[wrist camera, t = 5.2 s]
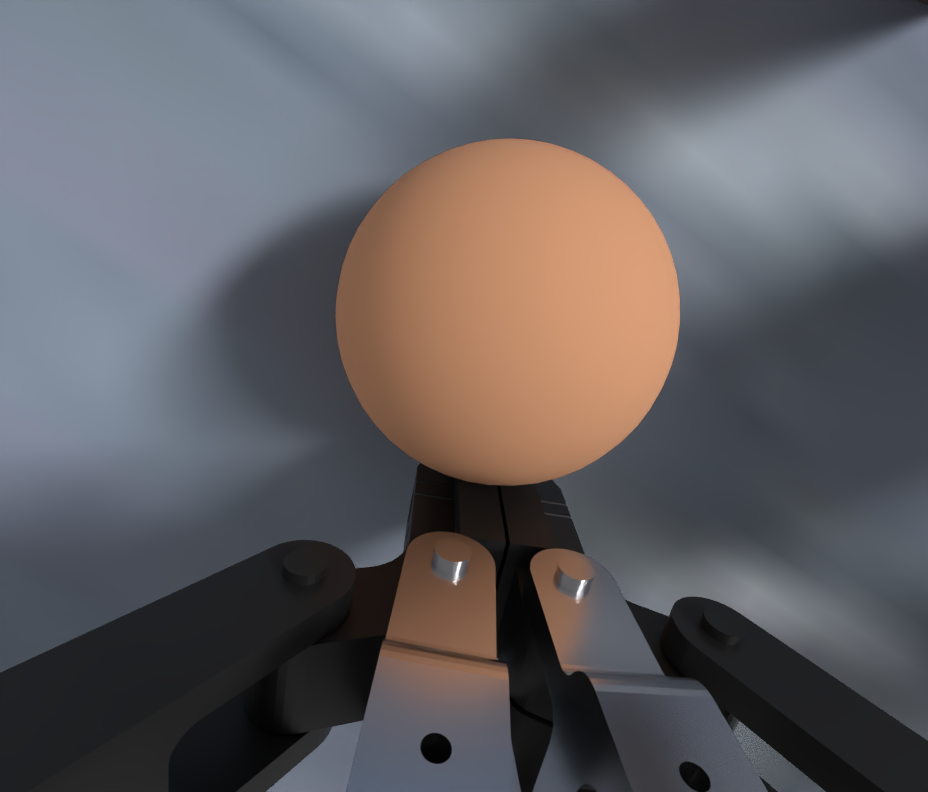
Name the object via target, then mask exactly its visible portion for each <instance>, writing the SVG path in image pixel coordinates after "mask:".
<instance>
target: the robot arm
mask: <svg viewBox="0 0 928 792" xmlns="http://www.w3.org/2000/svg"><path fill="white" fill-rule="evenodd" d="M497 658H498V659H499V660H497ZM361 720H363V724H362V728H361V732H360V736H359V740H358V744H357V749H356V753H355V757H354V761H353V765H352V769H351V773H350V777H349V781H348V785H347V790H346V792H777V791H776V790H775V789H774V788H772V787H771V786H770V785H769V784H768V783H767V782H766V781H764V780H763V779H762V778H761V777H760V776H759V775H758V774H757V772H756V770H755V769H754V767H753V765H752V764H751V762H750V760H749V759H748V757H747V755H746V753H745V752H744V750H743V748H742V747H741V745H740V743H739V742H738V740H737V738H736V737H735V735H734V733H733V731H734V729H735V727H736V725H737V724H738V722H739V721H740V722H742V723H743V724H744V725H745V726H747V727H748V728H749V729H750V730H751V731H753V732H754V733H755V734H756V735H758V736H759V737H760V738H761V739H762V740H764V741H765V742H766V743H767V744H769V745H770V746H771V747H772V748H774V749H775V750H776V751H777V752H778V753H780V754H781V755H782V756H783V757H785V758H786V759H787V760H788V761H789V762H791V763H792V764H793V765H794V766H796V767H797V768H798V769H799V770H800V771H802V772H803V773H804V774H805V775H807V776H808V777H809V778H810V779H811V780H813V781H814V782H815V783H816V784H818V785H819V786H820V787H821V788H823V789H824V790H825V791H826V792H928V741H927V740H926V739H924V738H923V737H921V736H920V735H918V734H917V733H915V732H914V731H912V730H911V729H909V728H908V727H906V726H905V725H903V724H902V723H901V722H899V721H898V720H896V719H895V718H893V717H892V716H890V715H889V714H887V713H886V712H884V711H883V710H881V709H880V708H878V707H877V706H875V705H874V704H872V703H871V702H870V701H868V700H867V699H865V698H864V697H862V696H861V695H859V694H858V693H856V692H855V691H853V690H852V689H850V688H849V687H847V686H846V685H844V684H843V683H842V682H840V681H839V680H837V679H836V678H834V677H833V676H831V675H830V674H828V673H827V672H825V671H824V670H822V669H821V668H819V667H818V666H816V665H815V664H814V663H812V662H811V661H809V660H808V659H806V658H805V657H803V656H802V655H800V654H799V653H797V652H796V651H794V650H793V649H791V648H790V647H788V646H787V645H786V644H784V643H783V642H781V641H780V640H778V639H777V638H775V637H774V636H772V635H771V634H769V633H768V632H766V631H765V630H763V629H762V628H760V627H759V626H758V625H756V624H755V623H753V622H752V621H750V620H749V619H747V618H746V617H744V616H743V615H741V614H740V613H738V612H737V611H735V610H733V609H732V608H730V607H728V606H726V605H724V604H721V603H719V602H717V601H713V600H710V599H707V598H702V597H685V598H682V599H679V600H678V601H677V602H675V604H674V606H673V608H672V610H671V612H670V615H669V617H668V616H666V615H663V614H660V613H658V612H655V611H652V610H649V609H647V608H644V607H641V606H639V605H636V604H634V603H631V602H629V601H627V600H625V599H624V597H623V595H622V593H621V591H620V589H619V587H618V585H617V583H616V581H615V580H614V578H613V577H612V575H611V574H610V573H609V572H608V570H607V569H605V568H604V567H603V566H602V565H601V564H599V563H598V562H597V561H595V560H593V559H592V558H590V557H588V556H586V555H585V554H584V551H583V549H582V546H581V543H580V540H579V538H578V535H577V532H576V530H575V527H574V524H573V521H572V519H570V513H569V511H568V508H567V506H566V502H565V500H564V497H563V494H562V492H561V489H560V488H559V487H558V486H557V485H556V484H555V483H554V482H553V481H552V480H548V481H544V482H540V483H535V484H525V485H516V486H507V485H486V484H479V483H473V482H467V481H464V480H460V479H457V478H454V477H450V476H447V475H445V474H442V473H440V472H438V471H436V470H433V469H431V468H429V467H427V466H425V465H423V464H422V463H421V464H420V465H419V466H418V467H417V473H416V478H415V483H414V489H413V494H412V500H411V505H410V510H409V516H408V521H407V527H406V534H405V543H404V551H403V554H401V555H400V556H399V557H398V558H396V559H394V560H393V561H391V562H388V563H386V564H383V565H379V566H374V567H367V568H356V569H355V566H354V564H353V562H352V560H351V559H350V557H349V556H348V555H347V554H346V553H344V552H343V551H342V550H340V549H339V548H337V547H335V546H332V545H330V544H327V543H324V542H319V541H311V540H297V541H290V542H286V543H282V544H279V545H277V546H274V547H272V548H270V549H267V550H265V551H263V552H261V553H259V554H257V555H254V556H252V557H250V558H248V559H246V560H244V561H241V562H239V563H237V564H235V565H233V566H231V567H228V568H226V569H224V570H222V571H220V572H218V573H215V574H213V575H211V576H209V577H207V578H205V579H203V580H200V581H198V582H196V583H194V584H192V585H190V586H187V587H185V588H183V589H181V590H179V591H177V592H174V593H172V594H170V595H168V596H166V597H164V598H161V599H159V600H157V601H155V602H153V603H151V604H148V605H146V606H144V607H142V608H140V609H138V610H135V611H133V612H131V613H129V614H127V615H125V616H122V617H120V618H118V619H116V620H114V621H112V622H109V623H107V624H105V625H103V626H101V627H99V628H96V629H94V630H92V631H90V632H88V633H86V634H83V635H81V636H79V637H77V638H75V639H73V640H70V641H68V642H66V643H64V644H62V645H60V646H57V647H55V648H53V649H51V650H49V651H47V652H44V653H42V654H40V655H38V656H36V657H34V658H31V659H29V660H27V661H25V662H23V663H21V664H18V665H16V666H14V667H12V668H10V669H8V670H5V671H3V672H1V673H0V792H266V791H267V790H268V789H269V788H270V787H272V786H273V785H274V784H275V783H276V782H277V781H278V780H280V779H281V778H282V777H283V776H284V775H285V774H287V773H288V772H289V771H290V770H291V769H292V768H294V767H295V766H296V765H297V764H298V763H299V762H301V761H302V760H303V759H304V758H305V757H306V756H307V755H309V754H310V753H311V752H312V751H313V750H314V749H316V748H317V747H318V746H319V745H320V744H321V743H322V742H323V741H324V740H325V738H326V737H327V735H328V734H329V732H330V730H331V728H332V727H333V726H337V725H342V724H347V723H352V722H357V721H361Z"/></svg>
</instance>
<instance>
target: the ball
mask: <svg viewBox="0 0 928 792" xmlns="http://www.w3.org/2000/svg"><path fill="white" fill-rule="evenodd" d="M335 319H336V331H337V341H338V345H339V350H340V355H341V359H342V363H343V366H344V368H345V371H346V374H347V377H348V379H349V382H350V384H351V386H352V388H353V390H354V392H355V394H356V396H357V398H358V400H359V402H360V404H361V405H362V407H363V408H364V410H365V411H366V413H367V414H368V415H369V417H370V418H371V420H372V421H373V422H374V424H375V425H376V426H377V427H378V428H379V429H380V430H381V431H382V432H383V433H384V435H385V436H386V437H387V438H388V439H389V440H390V441H391V442H393V443H394V444H395V445H396V446H397V447H399V448H400V449H401V450H402V451H404V452H405V453H406V454H407V455H409V456H410V457H412V458H414V459H415V460H417V461H419V462H420V463H422V464H423V465H425V466H427V467H429V468H431V469H433V470H436V471H438V472H440V473H442V474H445V475H447V476H450V477H454V478H457V479H460V480H464V481H467V482H473V483H479V484H486V485H507V486H516V485H525V484H535V483H540V482H544V481H548V480H552V479H556V478H560V477H562V476H565V475H567V474H570V473H572V472H575V471H577V470H580V469H581V468H583V467H585V466H587V465H589V464H590V463H592V462H594V461H596V460H597V459H599V458H601V457H602V456H603V455H605V454H606V453H607V452H609V451H610V450H611V449H613V448H614V447H615V446H617V445H618V444H619V443H621V442H622V441H623V440H624V439H625V438H626V437H627V436H628V435H629V434H630V433H631V432H632V431H633V430H634V429H635V428H636V427H637V426H638V424H639V423H640V422H641V420H642V419H643V418H644V416H645V415H646V414H647V412H648V411H649V410H650V408H651V407H652V405H653V403H654V401H655V400H656V398H657V396H658V394H659V393H660V391H661V389H662V387H663V385H664V383H665V380H666V378H667V375H668V373H669V370H670V368H671V366H672V362H673V358H674V355H675V351H676V347H677V342H678V334H679V326H680V295H679V287H678V280H677V274H676V270H675V266H674V262H673V259H672V255H671V252H670V250H669V247H668V245H667V243H666V240H665V238H664V235H663V233H662V232H661V230H660V228H659V226H658V225H657V223H656V221H655V219H654V217H653V216H652V215H651V213H650V212H649V210H648V209H647V208H646V206H645V205H644V204H643V202H642V201H641V200H640V199H639V198H638V197H637V195H636V194H635V193H634V192H633V191H632V190H631V189H630V188H629V187H628V186H627V185H626V184H625V183H624V182H622V181H621V180H620V179H619V178H618V177H616V176H615V175H614V174H613V173H612V172H610V171H609V170H607V169H606V168H604V167H603V166H601V165H599V164H598V163H596V162H595V161H593V160H592V159H589V158H587V157H585V156H583V155H581V154H579V153H577V152H575V151H572V150H569V149H566V148H563V147H560V146H557V145H554V144H550V143H545V142H540V141H535V140H527V139H514V138H508V139H490V140H484V141H479V142H473V143H469V144H466V145H462V146H459V147H456V148H453V149H450V150H447V151H445V152H443V153H441V154H438V155H436V156H434V157H432V158H430V159H428V160H426V161H424V162H422V163H421V164H419V165H418V166H416V167H415V168H413V169H411V170H410V171H408V172H407V173H405V174H404V175H403V176H402V177H401V178H400V179H398V180H397V181H396V182H395V183H394V184H393V185H391V186H390V187H389V188H388V189H387V191H386V192H385V193H384V194H383V195H382V196H381V197H380V198H379V199H378V201H377V202H376V203H375V204H374V205H373V207H372V208H371V209H370V211H369V212H368V214H367V215H366V217H365V218H364V220H363V221H362V223H361V224H360V225H359V227H358V229H357V231H356V233H355V235H354V237H353V239H352V241H351V243H350V245H349V248H348V251H347V254H346V257H345V260H344V262H343V265H342V269H341V275H340V280H339V285H338V290H337V297H336V316H335Z"/></svg>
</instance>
